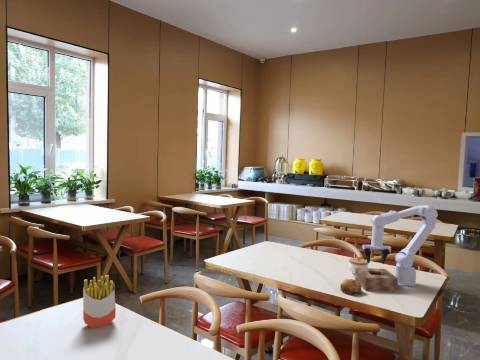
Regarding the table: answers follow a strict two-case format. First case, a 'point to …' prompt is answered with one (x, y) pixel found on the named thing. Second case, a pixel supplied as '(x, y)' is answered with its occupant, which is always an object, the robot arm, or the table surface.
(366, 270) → the coin box
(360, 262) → the lidded jar
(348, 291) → the bread roll
